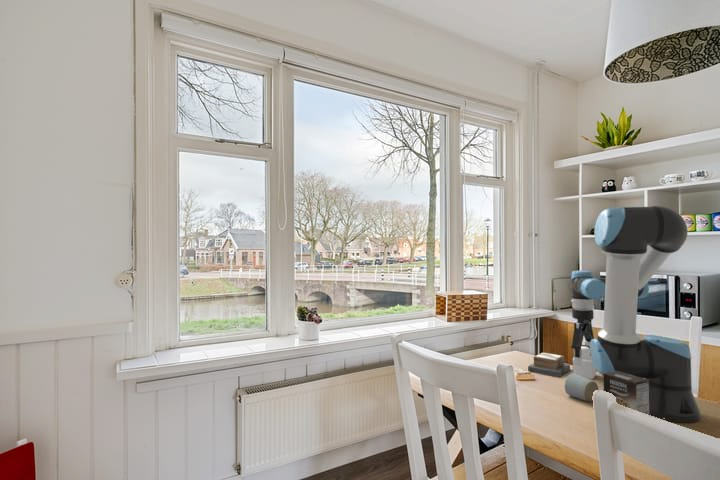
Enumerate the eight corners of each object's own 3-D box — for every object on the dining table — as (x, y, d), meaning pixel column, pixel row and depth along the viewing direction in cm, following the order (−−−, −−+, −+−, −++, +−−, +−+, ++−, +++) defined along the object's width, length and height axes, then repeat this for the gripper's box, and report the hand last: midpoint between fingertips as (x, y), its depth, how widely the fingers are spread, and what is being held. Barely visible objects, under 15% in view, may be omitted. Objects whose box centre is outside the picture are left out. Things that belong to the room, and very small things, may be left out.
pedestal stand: (558, 377, 161) (557, 362, 161) (528, 371, 169) (527, 356, 169) (570, 369, 171) (569, 355, 171) (541, 363, 179) (540, 350, 179)
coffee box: (603, 429, 115) (601, 373, 115) (617, 425, 117) (616, 369, 118) (636, 443, 106) (635, 382, 107) (651, 438, 109) (649, 378, 109)
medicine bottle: (576, 371, 167) (575, 342, 167) (596, 375, 163) (595, 345, 163) (572, 376, 162) (571, 346, 162) (592, 379, 157) (592, 348, 157)
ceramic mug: (586, 404, 133) (586, 381, 133) (564, 396, 140) (563, 374, 140) (606, 399, 138) (605, 376, 138) (583, 391, 145) (583, 370, 145)
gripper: (582, 304, 174) (583, 353, 174) (561, 312, 156) (563, 366, 156) (601, 305, 169) (602, 356, 169) (583, 314, 151) (584, 370, 151)
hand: (583, 361), depth 163 cm, fingers open, 13 cm apart
